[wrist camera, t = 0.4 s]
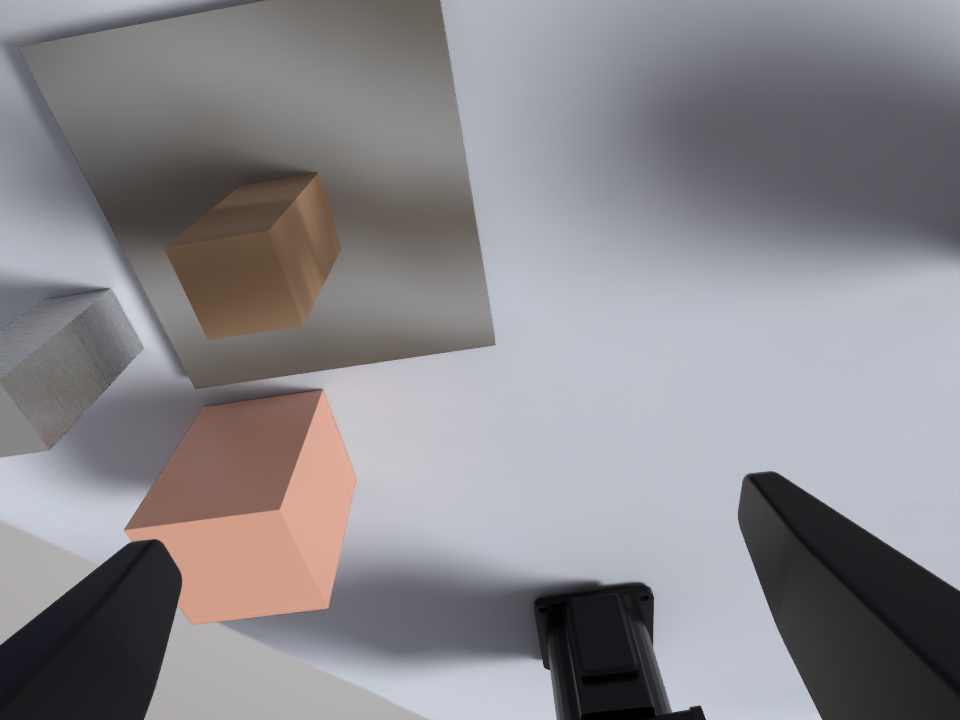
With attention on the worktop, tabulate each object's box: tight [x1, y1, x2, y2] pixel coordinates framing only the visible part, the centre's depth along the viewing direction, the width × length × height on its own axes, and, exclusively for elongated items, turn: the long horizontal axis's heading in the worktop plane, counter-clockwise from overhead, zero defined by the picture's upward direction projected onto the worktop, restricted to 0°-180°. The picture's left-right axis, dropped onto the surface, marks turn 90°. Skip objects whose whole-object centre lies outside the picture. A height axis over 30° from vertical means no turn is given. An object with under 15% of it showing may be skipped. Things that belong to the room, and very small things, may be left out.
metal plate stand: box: [18, 0, 495, 389], centre depth 17 cm, size 12×12×6 cm
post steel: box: [0, 289, 144, 457], centre depth 19 cm, size 3×3×6 cm
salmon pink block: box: [124, 390, 356, 625], centre depth 22 cm, size 5×5×7 cm
